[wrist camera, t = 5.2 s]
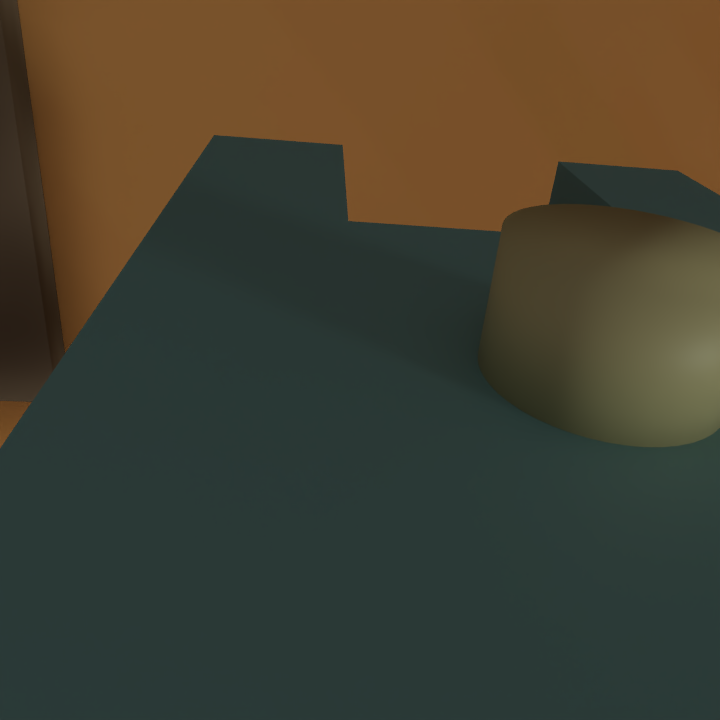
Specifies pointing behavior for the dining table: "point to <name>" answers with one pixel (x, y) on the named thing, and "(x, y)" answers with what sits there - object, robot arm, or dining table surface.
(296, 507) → the cabinet
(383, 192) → the dining table surface
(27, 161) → the board
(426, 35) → the dining table surface
